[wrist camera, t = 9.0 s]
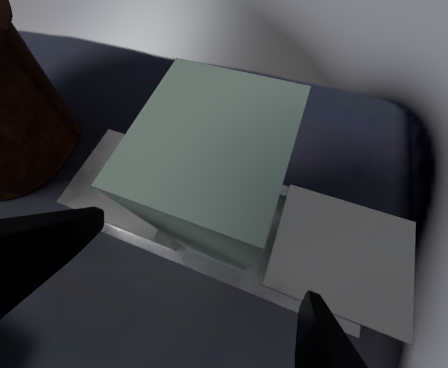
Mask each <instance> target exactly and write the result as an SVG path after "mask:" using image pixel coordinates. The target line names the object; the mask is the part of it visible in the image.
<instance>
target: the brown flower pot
mask: <svg viewBox="0 0 448 368" xmlns="http://www.w3.org/2000/svg"><path fill="white" fill-rule="evenodd" d="M12 17H13V16H12V10H11V6H10V3H9V0H0V201H3V200H8V199H12V198H16V197H18V196H21V195H24V194H26V193H28V192H30V191H32V190H34V189H36V188H37V187H39V186H40V185H42V184H43V183H45V182H46V181H47V180H49V179H50V178H51V177H52V176H53V175H54V174H55V173H56V172H57V171H58V170H59V169H60V168H61V167H62V166H63V165H64V163H65V162H66V161H67V159H68V158H69V156H70V155H71V153H72V150H73V148H74V146H75V143H76V140H77V138H78V137H79V131H80V129H79V125H78V124H77V122H76V120H75V118H74V116H73V115H72V113H71V112H70V111H69V109H68V108H67V107H66V105H65V104H64V102H63V101H62V99H61V98H60V96H59V94H58V93H57V91H56V90H55V88H54V87H53V85H52V83H51V82H50V80H49V79H48V77H47V76H46V74H45V73H44V71H43V70H42V68H41V66H40V65H39V63H38V62H37V60H36V59H35V57H34V56H33V54H32V53H31V51H30V50H29V48H28V47H27V45H26V43H25V42H24V40H23V39H22V37H21V36H20V34H19V33H18V31H17V30H16V28H15V27H14V25H13V24H12V22H11V21H12Z"/></svg>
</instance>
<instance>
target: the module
mask: <svg viewBox="0 0 448 368" xmlns="http://www.w3.org/2000/svg"><path fill="white" fill-rule="evenodd" d="M310 88H311V86H307V85H302V84H297V83H293V82H288V81H283V80H278V79H274V78H269V77H264V76H259V75H255V74H250V73H245V72H240V71H236V70H231V69H226V68H221V67H216V66H212V65H207V64H202V63H197V62H193V61H188V60H183V59H178V58H176V60H175V61H174V63H173V64H172V66H171V67H170V68H169V70H168V71H167V73H166V74H165V76H164V77H163V79H162V80H161V82H160V83H159V85H158V86H157V88H156V89H155V91H154V92H153V94H152V95H151V97H150V98H149V100H148V101H147V103H146V104H145V106H144V107H143V109H142V110H141V112H140V113H139V115H138V116H137V118H136V119H135V121H134V122H133V124H132V125H131V127H130V128H129V130H128V131H127V133H126V134H125V136H124V137H123V139H122V140H121V142H120V143H119V145H118V146H117V147H116V149H115V150H114V152H113V153H112V155H111V156H110V158H109V159H108V161H107V162H106V164H105V165H104V167H103V168H102V170H101V171H100V173H99V174H98V176H97V177H96V179H95V180H94V182H93V183H92V185H91V186H93V187H94V188H96V189H97V190H99V191H100V192H102V193H103V194H105V195H106V196H108V197H109V198H111V199H112V200H114V201H115V202H117V203H118V204H120V205H121V206H123V207H125V208H126V209H128V210H129V211H131V212H132V213H134V214H135V215H137V216H138V217H140V218H141V219H143V220H144V221H146V222H147V223H149V224H150V225H152V226H153V227H155V228H157V229H158V230H160V231H161V232H163V233H164V234H166V235H167V236H169V237H170V238H172V239H173V240H175V241H176V242H178V243H179V244H181V245H182V246H184V247H185V248H187V249H188V250H190V251H193V252H195V253H198V254H200V255H203V256H205V257H208V258H211V259H213V260H216V261H218V262H221V263H223V264H226V265H228V266H231V267H233V268H236V269H238V270H241V271H243V272H245V270H246V269H247V268H248V267H249V266H250V265H251V263H252V262H253V261H254V260H255V259H256V257H257V256H258V255H259V254H260V253H261V252H262V250H263V249H264V246H265V243H266V239H267V236H268V233H269V229H270V226H271V222H272V219H273V215H274V212H275V208H276V205H277V202H278V198H279V195H280V191H281V188H282V184H283V181H284V177H285V174H286V170H287V167H288V164H289V160H290V157H291V153H292V150H293V146H294V143H295V139H296V136H297V132H298V129H299V126H300V122H301V119H302V115H303V112H304V108H305V105H306V101H307V98H308V94H309V91H310Z"/></svg>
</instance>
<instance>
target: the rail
mask: <svg viewBox="0 0 448 368" xmlns="http://www.w3.org/2000/svg"><path fill="white" fill-rule="evenodd" d="M124 136H125V134H122V133H119V132H116V131H113V130H109V129H108V131H107V132H106V133H105V135H104V136H103V138H102V139H101V140H100V142H99V143H98V145H97V146H96V147H95V149H94V150H93V152H92V153H91V154H90V156H89V157H88V159H87V160H86V161H85V163H84V164H83V165H82V167H81V168H80V170H79V171H78V172H77V174H76V175H75V177H74V178H73V179H72V181H71V182H70V184H69V185H68V186H67V188H66V189H65V191H64V192H63V193H62V195H61V196H60V197H59V199H58V200H57V202H58V203H60V204H63V205H65V206H67V207H69V208H72V209H78V208H86V207H93V206H95V207H98V208H101V209H103V210H104V227H103V229H102V230H101V231H102V232H104V233H107V234H109V235H112V236H114V237H116V238H119V239H121V240H124V241H126V242H128V243H131V244H133V245H136V246H138V247H140V248H143V249H145V250H148V251H150V252H153V253H155V254H157V255H160V256H162V257H165V258H167V259H169V260H172V261H174V262H177V263H179V264H181V265H184V266H186V267H189V268H191V269H194V270H196V271H198V272H201V273H203V274H206V275H208V276H210V277H213V278H215V279H218V280H220V281H222V282H225V283H227V284H230V285H232V286H234V287H237V288H239V289H242V290H244V291H247V292H249V293H251V294H254V295H256V296H259V297H261V298H263V299H266V300H268V301H271V302H273V303H275V304H278V305H280V306H283V307H285V308H288V309H290V310H292V311H295V312H297V313H298V311H299V307H300V304H301V302H302V300H303V298H304V296H305V294H306V292H307V291H308V290H311V291H313V292H316V293H318V294H320V295H321V296H322V298H323V300H324V301H325V303H326V304H327V306H328V307H329V309H330V310H331V312H332V313H333V315H334V316H335V318H336V319H337V321H338V323H339V324H340V326H341V327H342V329H343V330H344V332H345V333H348V334H350V335H353V336H355V337H357V338H359V335H360V326H361V327H364V328H367V329H370V330H372V331H375V332H378V333H381V334H383V335H386V336H389V337H392V338H394V339H397V340H400V341H403V342H405V343H408V344H411V345H413V316H414V274H415V231H416V222H413V221H410V220H407V219H403V218H400V217H397V216H393V215H390V214H387V213H383V212H380V211H377V210H374V209H370V208H367V207H364V206H360V205H357V204H354V203H350V202H347V201H344V200H341V199H337V198H334V197H331V196H327V195H324V194H321V193H317V192H314V191H311V190H308V189H304V188H301V187H298V186H294V185H291V184H290V186H289V187H288V186H285V185H282V188H281V191H280V195H279V198H278V202H277V205H276V208H275V212H274V215H273V219H272V222H271V226H270V229H269V233H268V236H267V239H266V243H265V246H264V249H263V250H262V252H261V253H260V254H259V255H258V256H257V257H256V259H255V260H254V261H253V262H252V263H251V265H250V266H249V267H248V268H247V269H246V270H245V272H243V271H241V270H238V269H236V268H233V267H231V266H228V265H226V264H223V263H221V262H218V261H216V260H213V259H211V258H208V257H205V256H203V255H200V254H198V253H195V252H193V251H190V250H188V249H187V248H185V247H184V246H182V245H181V244H179V243H178V242H176V241H175V240H173V239H172V238H170V237H169V236H167V235H166V234H164V233H163V232H161V231H160V230H158V229H157V228H155V227H153V226H152V225H150V224H149V223H147V222H146V221H144V220H143V219H141V218H140V217H138V216H137V215H135V214H134V213H132V212H131V211H129V210H128V209H126V208H125V207H123V206H121V205H120V204H118V203H117V202H115V201H114V200H112V199H111V198H109V197H108V196H106V195H105V194H103V193H102V192H100V191H99V190H97V189H96V188H94V187H93V186H91V185H92V183H93V182H94V180H95V179H96V177H97V176H98V174H99V173H100V171H101V170H102V168H103V167H104V165H105V164H106V162H107V161H108V159H109V158H110V156H111V155H112V153H113V152H114V150H115V149H116V147H117V146H118V145H119V143H120V142H121V140H122V139H123V137H124Z"/></svg>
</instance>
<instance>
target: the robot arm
mask: <svg viewBox="0 0 448 368" xmlns="http://www.w3.org/2000/svg"><path fill="white" fill-rule="evenodd" d="M103 227H104V210H103V209H101V208H98V207H95V206H93V207H86V208H78V209H71V210H64V211H56V212H49V213H42V214H34V215H27V216H19V217H12V218H5V219H0V319H1V318H2V317H4V316H5V315H6V314H7V313H8V312H10V311H11V310H12V309H13V308H14V307H16V306H17V305H18V304H19V303H20V302H22V301H23V300H24V299H25V298H26V297H28V296H29V295H30V294H31V293H32V292H33V291H35V290H36V289H37V288H38V287H39V286H41V285H42V284H43V283H44V282H45V281H47V280H48V279H49V278H50V277H51V276H53V275H54V274H55V273H56V272H57V271H59V270H60V269H61V268H62V267H63V266H64V265H66V264H67V263H68V262H69V261H70V260H72V259H73V258H74V257H75V256H76V255H77V254H78V253H79V252H80V251H81V250H82V249H83V248H84V247H85V246H86V245H87V244H88V243H89V242H90V241H91V240H92V239H93V238H94V237H95V236H96V235H97V234H98V233H99V232H100V231H101V230H102V229H103ZM295 368H368V367H367V365H366V364H365V362H364V361H363V359H362V358H361V356H360V355H359V353H358V352H357V350H356V349H355V347H354V345H353V344H352V342H351V341H350V339H349V338H348V336H347V335H346V333H345V332H344V330H343V329H342V327H341V326H340V324H339V323H338V321H337V319H336V318H335V316H334V315H333V313H332V312H331V310H330V309H329V307H328V306H327V304H326V303H325V301H324V300H323V298H322V296H321V295H320V294H318V293H316V292H313V291H311V290H308V291H307V292H306V294H305V296H304V298H303V300H302V302H301V304H300V307H299V311H298V322H297V334H296V346H295Z"/></svg>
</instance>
